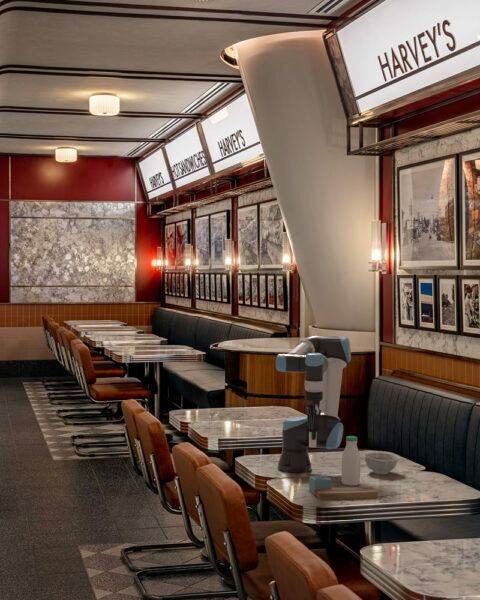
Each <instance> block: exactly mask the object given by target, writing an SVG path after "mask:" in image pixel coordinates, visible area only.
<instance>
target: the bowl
mask: <svg viewBox="0 0 480 600" xmlns="http://www.w3.org/2000/svg"><path fill="white" fill-rule="evenodd" d="M363 458H364V460H365V463H366V466H367V467H368V469H370V470H371V471H372V473H374V474H377V475H388V474H389V472H391V471H392V470H394V469H395V468H396V465H397V464H398V461H399V460H400V456H399V455H396V454H393V453H388V452H367V453H364V454H363Z"/></svg>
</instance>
